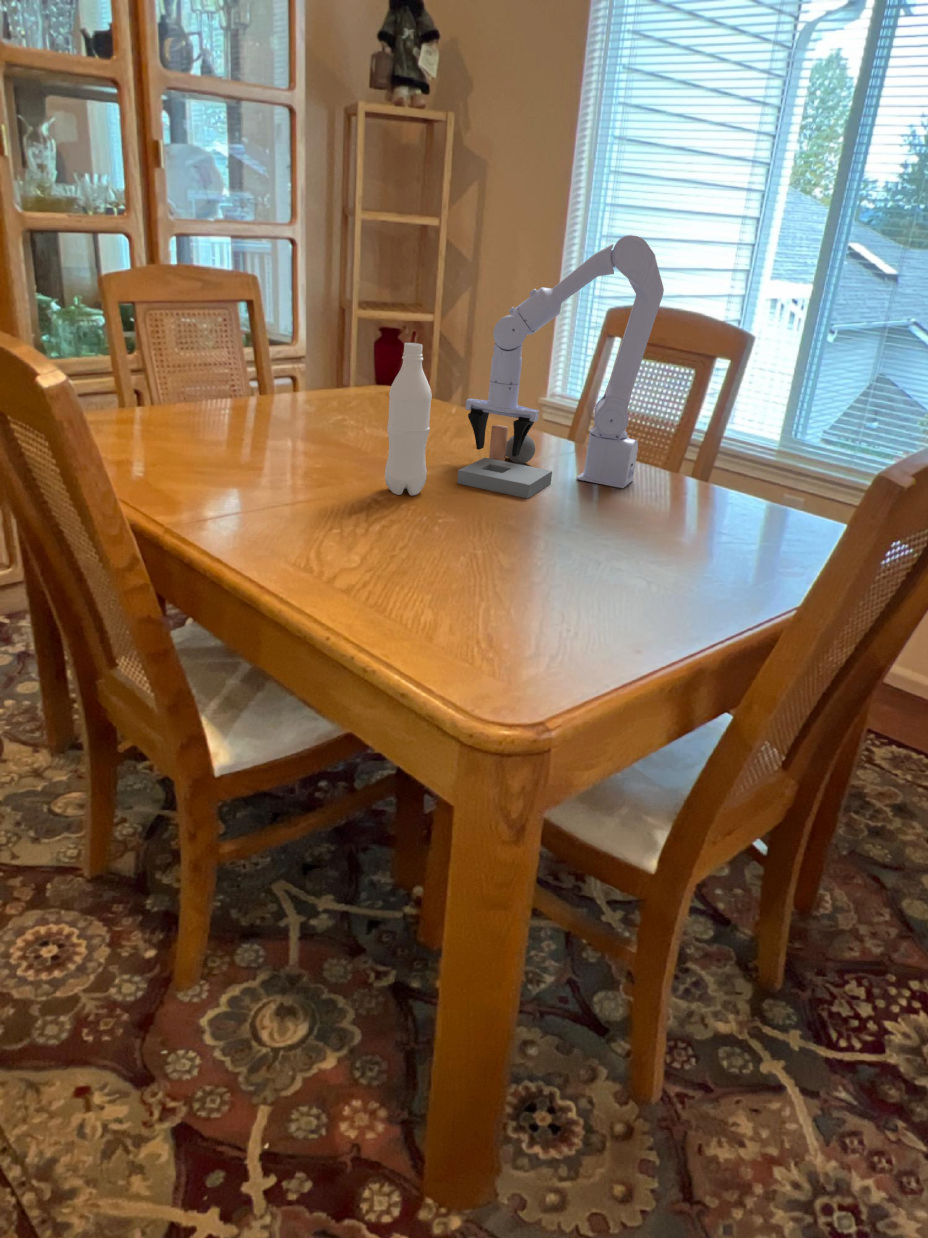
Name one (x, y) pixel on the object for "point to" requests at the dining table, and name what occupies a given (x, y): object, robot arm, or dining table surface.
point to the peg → (498, 442)
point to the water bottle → (408, 424)
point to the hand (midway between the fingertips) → (497, 451)
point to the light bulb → (521, 450)
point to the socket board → (505, 477)
